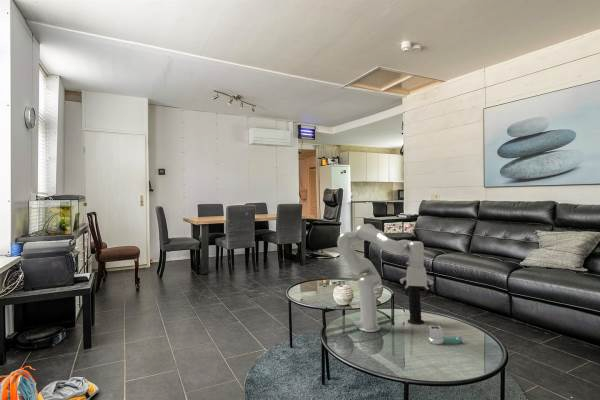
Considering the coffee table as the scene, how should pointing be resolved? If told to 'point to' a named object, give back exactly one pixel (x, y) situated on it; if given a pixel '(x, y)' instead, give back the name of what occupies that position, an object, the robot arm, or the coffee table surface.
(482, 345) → the coffee table surface
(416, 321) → the handle grip
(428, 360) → the coffee table surface
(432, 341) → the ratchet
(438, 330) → the hollow white cube
